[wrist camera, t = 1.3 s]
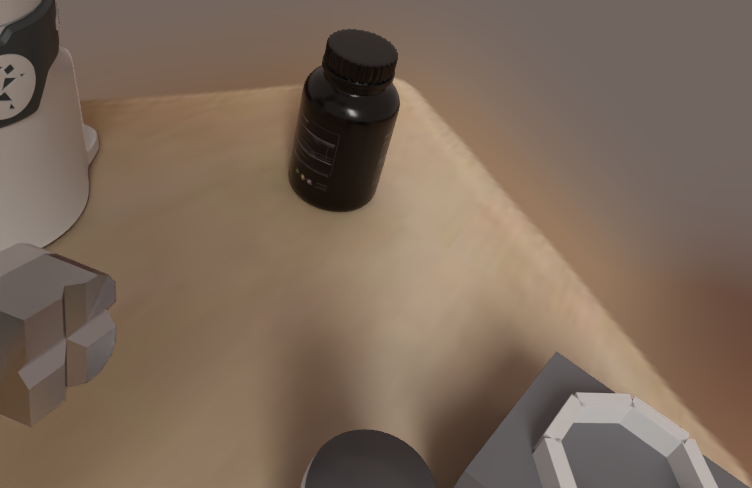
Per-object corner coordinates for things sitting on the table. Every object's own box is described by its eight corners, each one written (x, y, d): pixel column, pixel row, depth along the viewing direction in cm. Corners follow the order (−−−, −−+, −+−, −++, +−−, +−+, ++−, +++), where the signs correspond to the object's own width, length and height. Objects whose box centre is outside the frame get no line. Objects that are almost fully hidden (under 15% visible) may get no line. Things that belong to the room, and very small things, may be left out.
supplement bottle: (332, 148, 58) (365, 12, 50) (391, 196, 56) (436, 61, 48) (267, 174, 54) (291, 31, 46) (328, 228, 51) (365, 85, 43)
